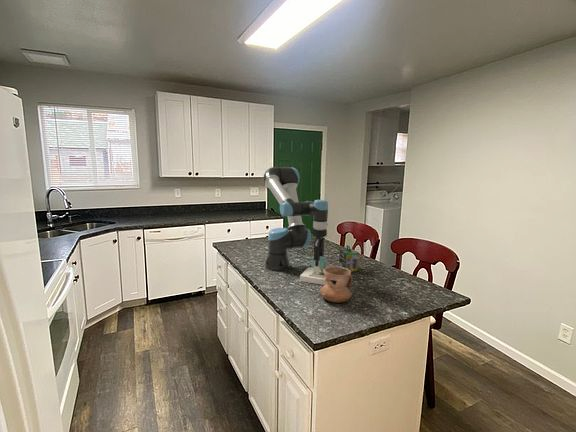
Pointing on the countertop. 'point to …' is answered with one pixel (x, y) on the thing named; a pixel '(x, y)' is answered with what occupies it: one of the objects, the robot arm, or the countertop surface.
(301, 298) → the countertop surface
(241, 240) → the countertop surface
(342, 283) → the ceramic jug
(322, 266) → the teal block figurine
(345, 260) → the chalk box
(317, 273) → the socket
